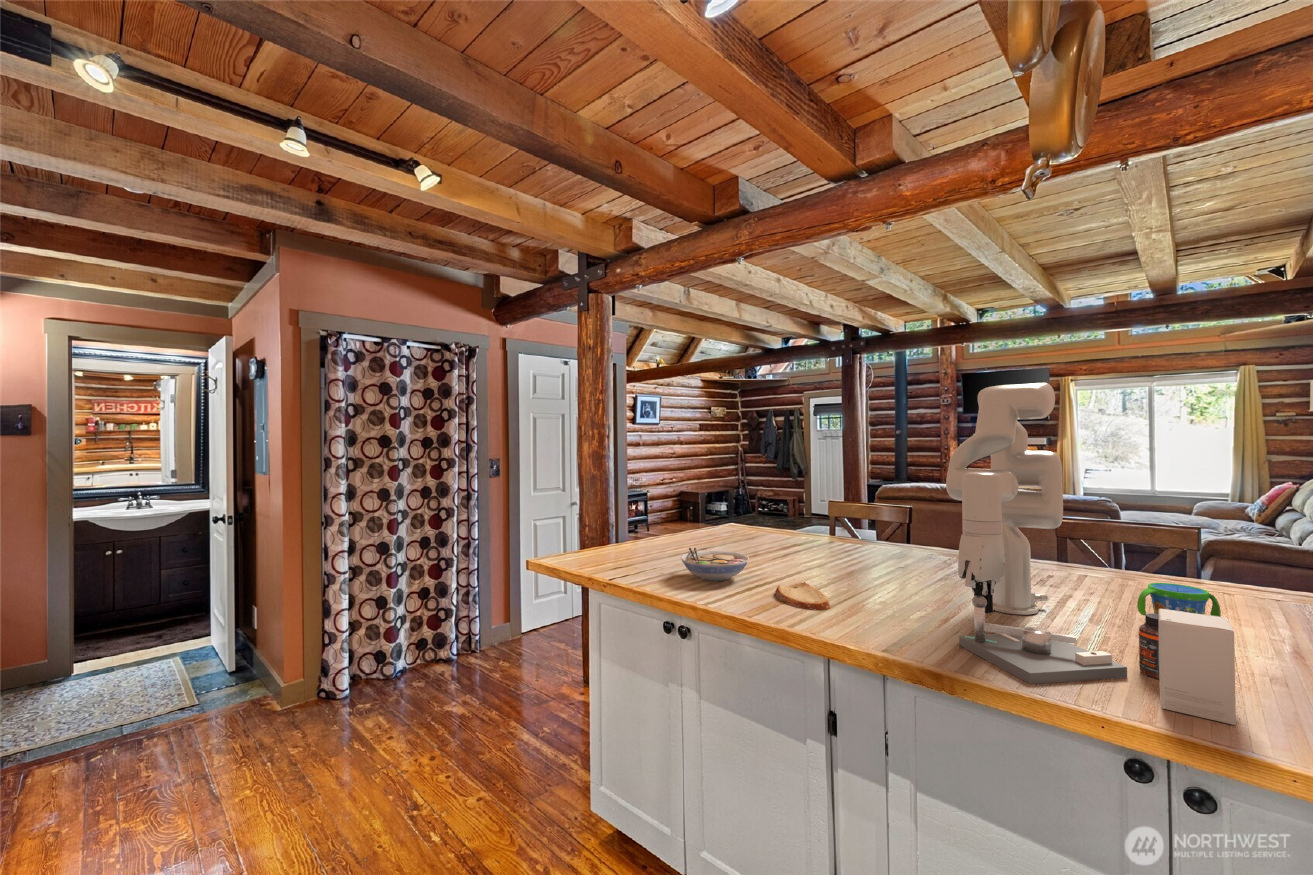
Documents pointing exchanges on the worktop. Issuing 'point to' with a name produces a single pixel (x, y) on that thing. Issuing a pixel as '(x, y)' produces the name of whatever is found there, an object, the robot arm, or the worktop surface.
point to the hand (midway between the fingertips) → (983, 611)
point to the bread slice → (803, 596)
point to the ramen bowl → (714, 564)
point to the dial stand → (1044, 660)
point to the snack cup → (1177, 599)
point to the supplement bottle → (1149, 646)
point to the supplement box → (1197, 665)
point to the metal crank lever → (1016, 631)
